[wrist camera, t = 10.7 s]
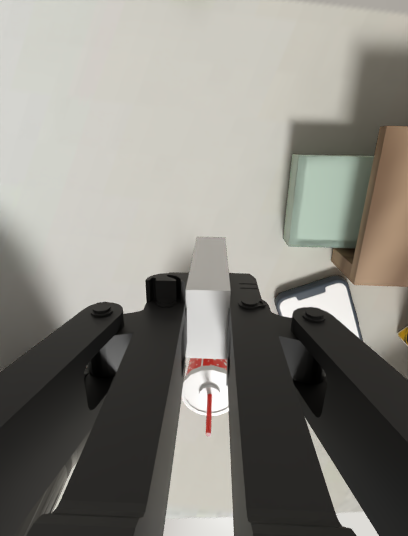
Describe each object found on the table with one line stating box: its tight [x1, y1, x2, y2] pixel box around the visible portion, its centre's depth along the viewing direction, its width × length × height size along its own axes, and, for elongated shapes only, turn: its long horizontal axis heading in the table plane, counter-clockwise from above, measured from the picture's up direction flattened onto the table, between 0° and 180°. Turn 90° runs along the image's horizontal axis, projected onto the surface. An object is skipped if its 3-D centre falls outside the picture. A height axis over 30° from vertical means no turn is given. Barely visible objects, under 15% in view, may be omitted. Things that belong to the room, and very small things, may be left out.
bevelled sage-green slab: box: [283, 154, 374, 248], centre depth 33 cm, size 14×9×3 cm, turn 89°
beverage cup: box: [182, 358, 229, 436], centre depth 35 cm, size 6×6×14 cm
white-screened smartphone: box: [275, 276, 363, 341], centre depth 41 cm, size 9×2×16 cm
